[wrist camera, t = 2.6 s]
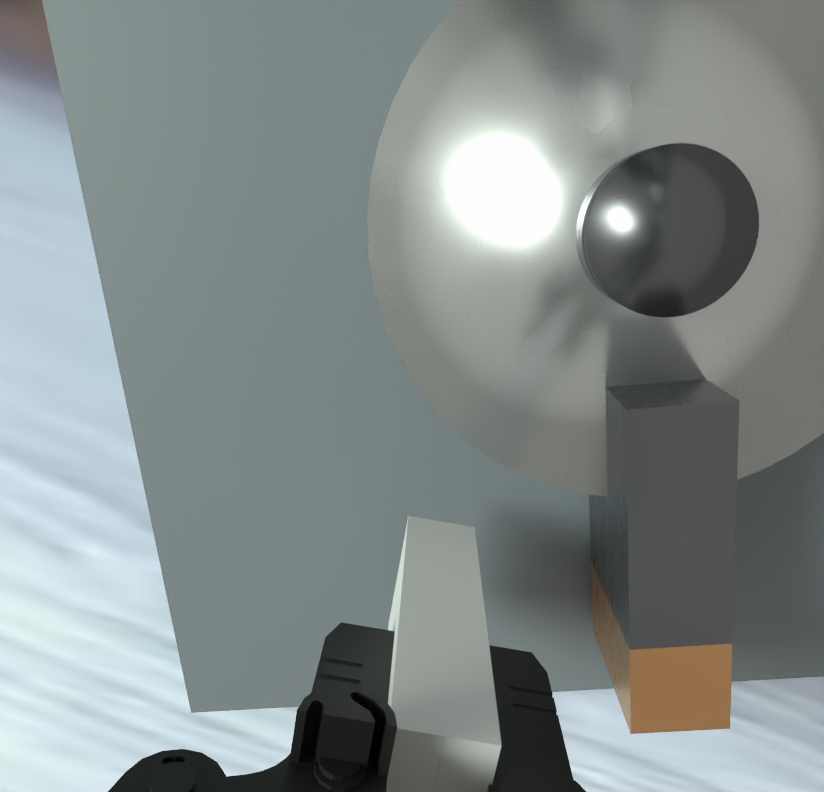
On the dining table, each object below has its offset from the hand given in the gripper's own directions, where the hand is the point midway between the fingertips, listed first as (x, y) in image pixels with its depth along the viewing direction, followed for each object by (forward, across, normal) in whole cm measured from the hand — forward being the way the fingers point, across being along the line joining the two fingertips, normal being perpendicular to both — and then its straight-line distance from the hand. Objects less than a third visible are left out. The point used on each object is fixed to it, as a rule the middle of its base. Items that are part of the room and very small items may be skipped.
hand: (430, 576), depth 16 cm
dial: (+2, +3, +6) cm, 7 cm away
